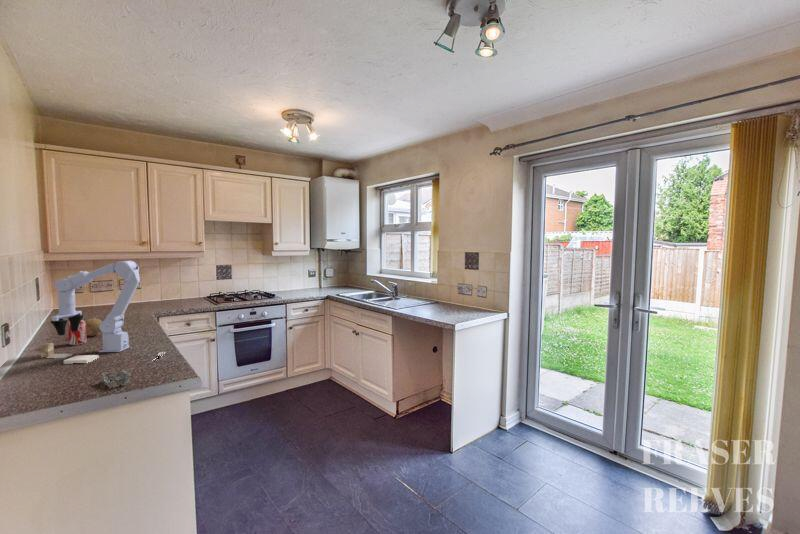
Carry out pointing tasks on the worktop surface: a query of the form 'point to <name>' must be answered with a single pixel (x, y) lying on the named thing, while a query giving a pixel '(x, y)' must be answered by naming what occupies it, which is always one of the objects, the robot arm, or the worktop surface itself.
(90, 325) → the natural sponge
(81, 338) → the red and white box
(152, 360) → the fork
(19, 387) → the worktop surface
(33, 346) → the worktop surface
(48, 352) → the beige l-shaped block
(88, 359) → the tile
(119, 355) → the worktop surface
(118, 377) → the egg carton
